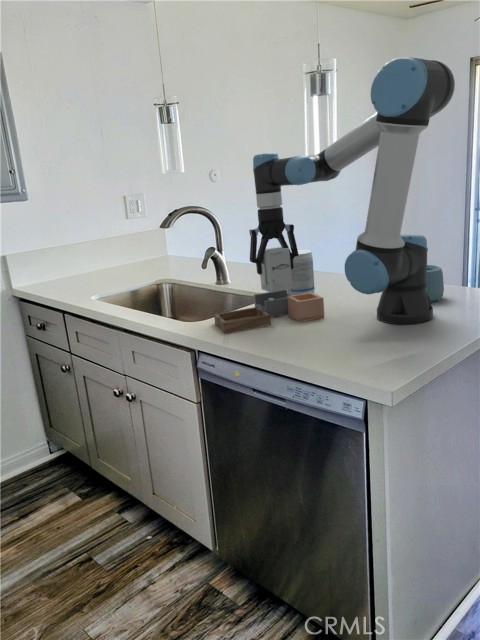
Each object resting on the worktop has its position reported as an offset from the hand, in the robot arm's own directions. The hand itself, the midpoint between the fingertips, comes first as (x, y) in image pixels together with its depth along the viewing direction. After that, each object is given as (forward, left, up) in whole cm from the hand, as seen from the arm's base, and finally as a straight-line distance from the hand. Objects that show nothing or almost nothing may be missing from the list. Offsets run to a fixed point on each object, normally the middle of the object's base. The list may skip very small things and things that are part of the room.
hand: (276, 282), depth 162 cm
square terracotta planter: (-11, -5, -9) cm, 15 cm away
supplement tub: (+16, -15, -9) cm, 24 cm away
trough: (-8, +14, -9) cm, 19 cm away
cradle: (0, 0, -9) cm, 9 cm away
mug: (-13, -44, -9) cm, 47 cm away
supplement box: (0, 0, -2) cm, 2 cm away
